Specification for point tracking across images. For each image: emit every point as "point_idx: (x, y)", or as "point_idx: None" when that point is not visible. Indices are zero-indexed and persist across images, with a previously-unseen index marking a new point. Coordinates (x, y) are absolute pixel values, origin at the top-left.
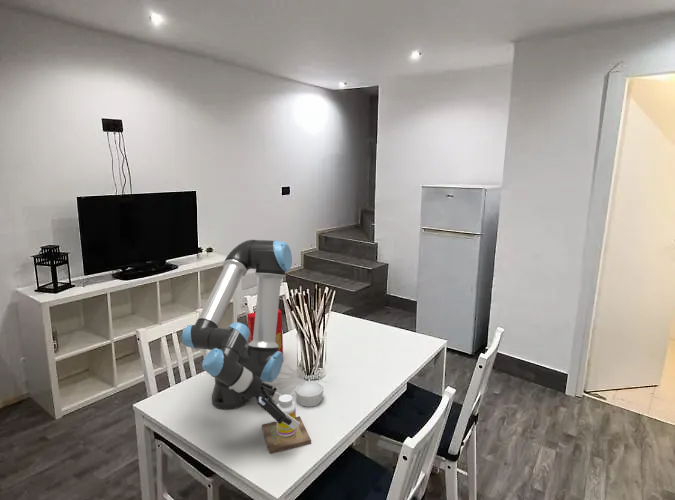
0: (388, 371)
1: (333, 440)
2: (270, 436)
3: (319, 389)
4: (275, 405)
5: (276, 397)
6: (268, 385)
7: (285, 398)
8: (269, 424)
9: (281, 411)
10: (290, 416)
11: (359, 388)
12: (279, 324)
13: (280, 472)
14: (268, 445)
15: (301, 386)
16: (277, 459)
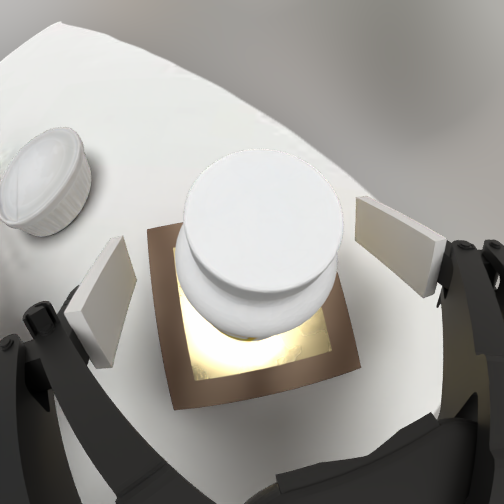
0: (67, 52)
1: (297, 144)
2: (273, 371)
3: (55, 137)
4: (494, 306)
5: (106, 322)
6: (9, 391)
7: (276, 210)
8: (178, 375)
9: (474, 261)
10: (403, 221)
11: (82, 83)
12: None
13: (431, 318)
14: (335, 375)
15: (6, 203)
16: (382, 334)
